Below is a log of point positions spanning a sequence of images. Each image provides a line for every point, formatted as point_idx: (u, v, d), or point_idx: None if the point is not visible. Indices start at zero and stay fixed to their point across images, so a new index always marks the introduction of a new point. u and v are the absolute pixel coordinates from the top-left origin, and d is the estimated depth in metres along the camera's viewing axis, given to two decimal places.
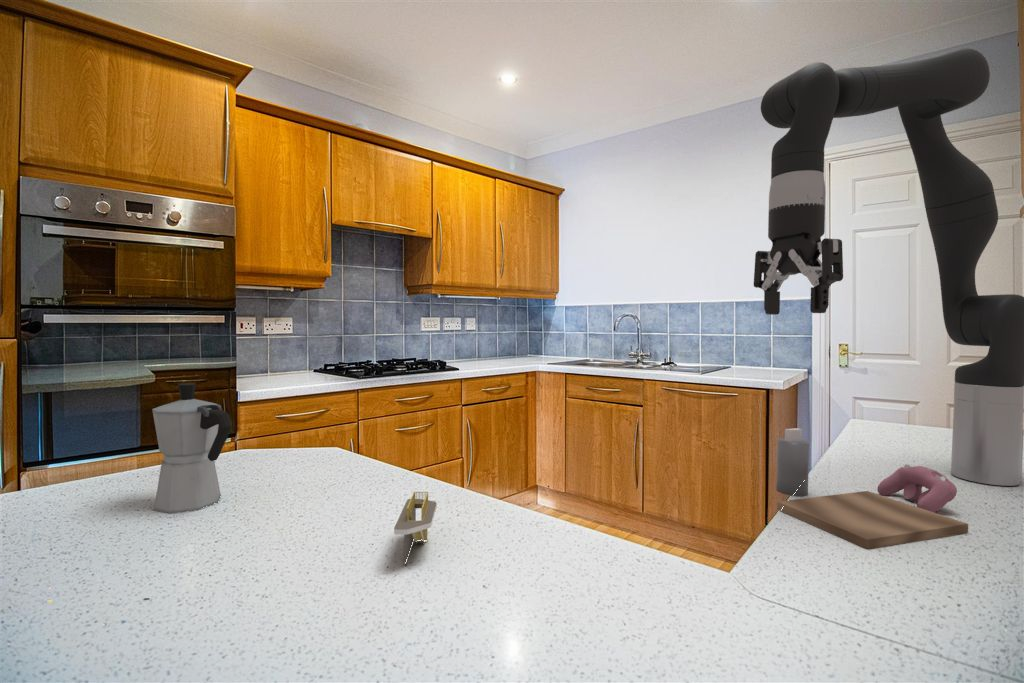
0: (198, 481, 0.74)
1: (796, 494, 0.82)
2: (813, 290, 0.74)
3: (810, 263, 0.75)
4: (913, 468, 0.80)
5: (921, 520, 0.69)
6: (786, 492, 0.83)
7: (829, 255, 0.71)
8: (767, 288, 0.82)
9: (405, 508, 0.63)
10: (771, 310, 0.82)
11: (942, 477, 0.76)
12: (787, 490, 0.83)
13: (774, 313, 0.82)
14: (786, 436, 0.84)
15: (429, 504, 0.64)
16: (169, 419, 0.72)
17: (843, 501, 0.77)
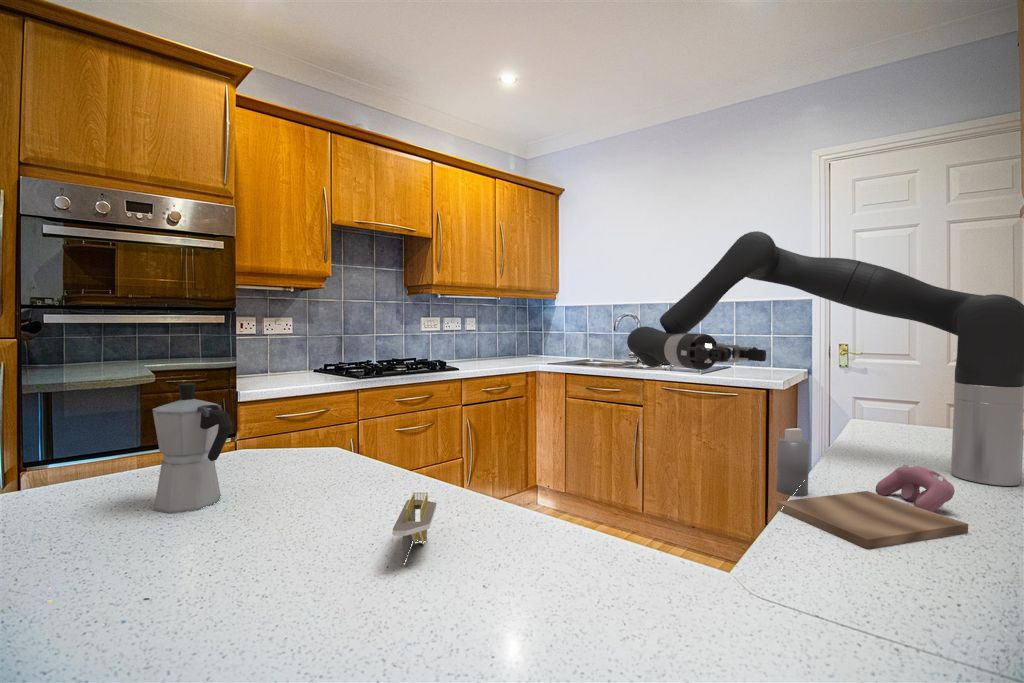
0: (198, 481, 0.74)
1: (796, 494, 0.82)
2: (714, 360, 0.96)
3: None
4: (911, 468, 0.80)
5: (921, 520, 0.69)
6: (786, 492, 0.83)
7: (687, 359, 1.00)
8: (747, 359, 1.00)
9: (404, 509, 0.62)
10: (760, 358, 0.96)
11: (940, 477, 0.76)
12: (787, 490, 0.83)
13: (762, 355, 0.96)
14: (786, 436, 0.84)
15: (429, 505, 0.64)
16: (169, 419, 0.72)
17: (843, 501, 0.77)
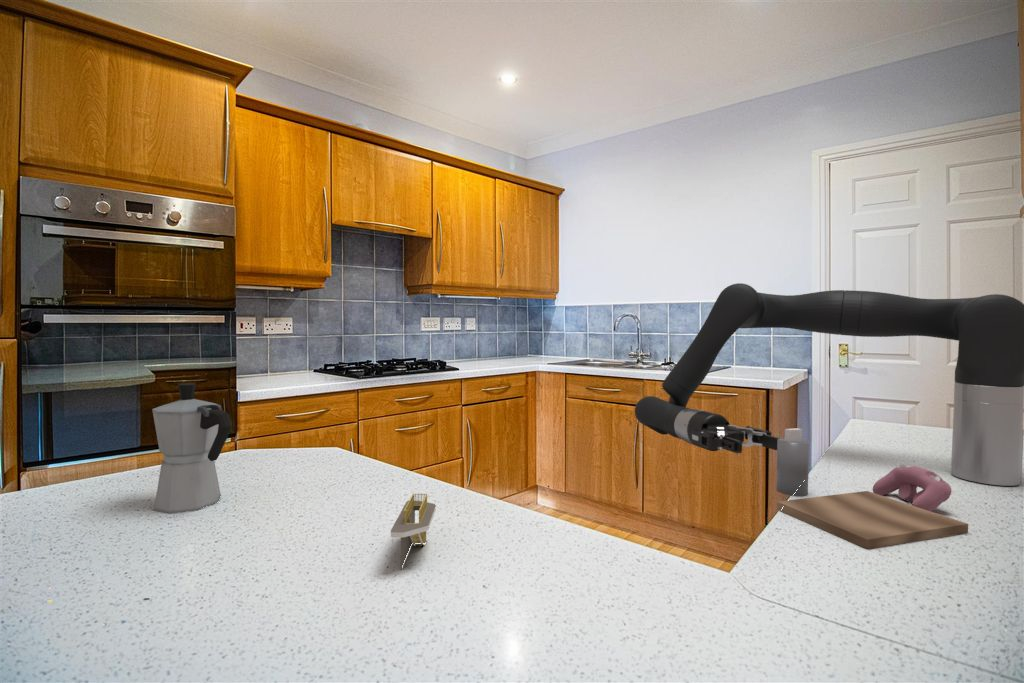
0: (198, 481, 0.74)
1: (796, 494, 0.82)
2: (727, 449, 0.93)
3: None
4: (908, 468, 0.80)
5: (921, 520, 0.69)
6: (786, 492, 0.83)
7: (698, 444, 0.97)
8: (761, 445, 0.97)
9: (403, 510, 0.62)
10: (775, 446, 0.93)
11: (937, 477, 0.76)
12: (787, 490, 0.83)
13: None
14: (786, 436, 0.84)
15: (428, 506, 0.63)
16: (169, 419, 0.72)
17: (843, 501, 0.77)
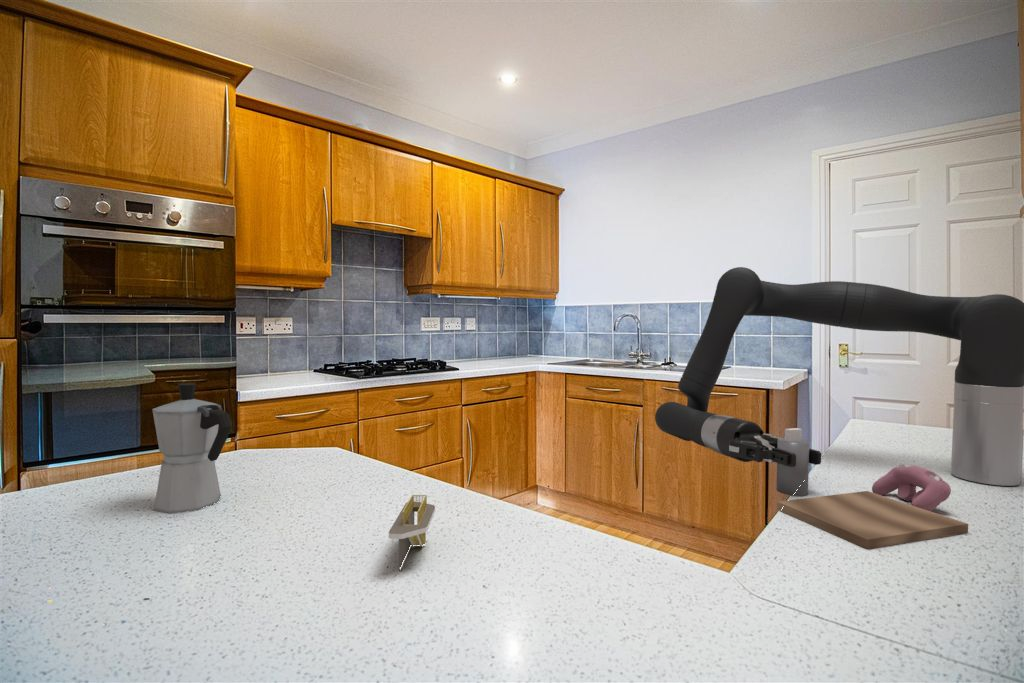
0: (198, 481, 0.74)
1: (796, 494, 0.82)
2: (777, 462, 0.84)
3: None
4: (908, 468, 0.80)
5: (921, 520, 0.69)
6: (786, 492, 0.83)
7: (740, 457, 0.87)
8: None
9: (403, 511, 0.61)
10: (814, 460, 0.83)
11: (936, 477, 0.76)
12: (787, 490, 0.83)
13: (817, 457, 0.83)
14: (786, 436, 0.84)
15: (427, 508, 0.63)
16: (169, 419, 0.72)
17: (843, 501, 0.77)
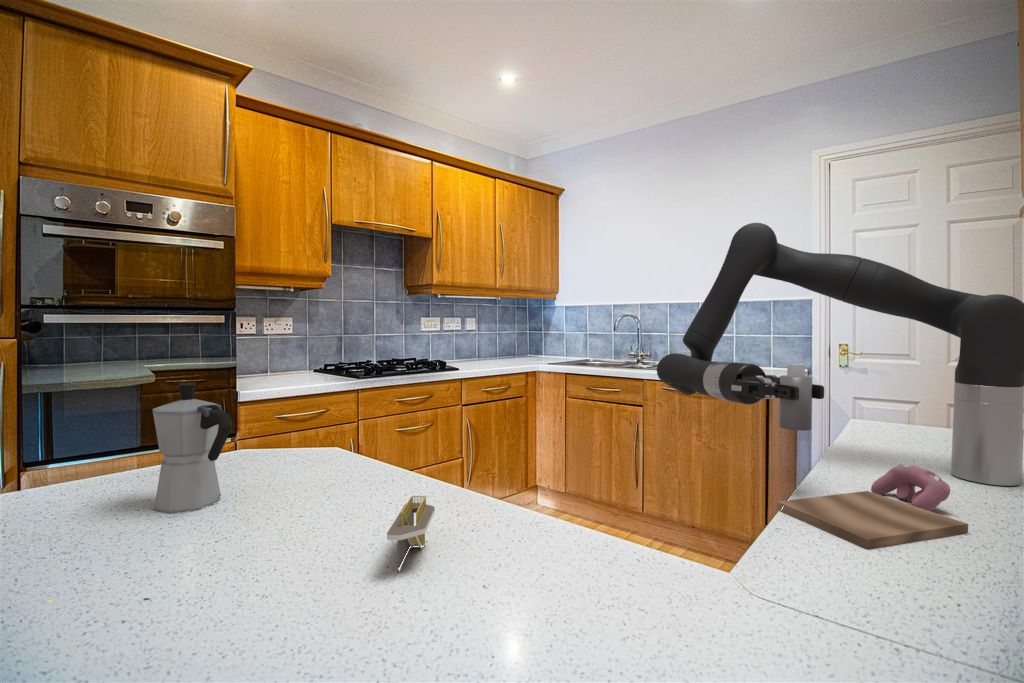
0: (198, 481, 0.74)
1: (799, 428, 0.82)
2: (780, 397, 0.84)
3: None
4: (907, 468, 0.80)
5: (921, 520, 0.69)
6: (789, 427, 0.83)
7: (743, 395, 0.87)
8: None
9: None
10: (817, 395, 0.83)
11: (935, 477, 0.76)
12: (791, 425, 0.83)
13: (820, 391, 0.82)
14: (789, 371, 0.84)
15: (427, 509, 0.62)
16: (169, 419, 0.72)
17: (843, 501, 0.77)
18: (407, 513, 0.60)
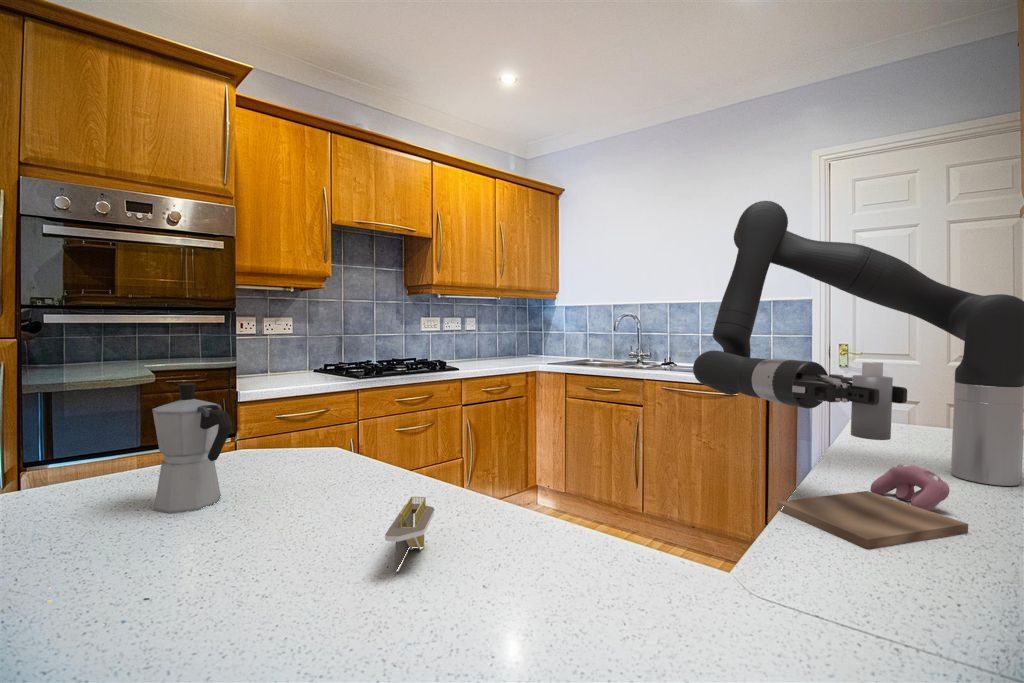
0: (198, 481, 0.74)
1: (878, 438, 0.70)
2: (853, 401, 0.71)
3: None
4: (906, 468, 0.80)
5: (921, 520, 0.69)
6: (865, 436, 0.70)
7: (807, 398, 0.75)
8: None
9: None
10: (898, 399, 0.70)
11: (935, 476, 0.77)
12: (867, 433, 0.70)
13: (902, 394, 0.70)
14: (864, 370, 0.71)
15: (426, 510, 0.62)
16: (169, 419, 0.72)
17: (843, 501, 0.77)
18: (406, 514, 0.60)
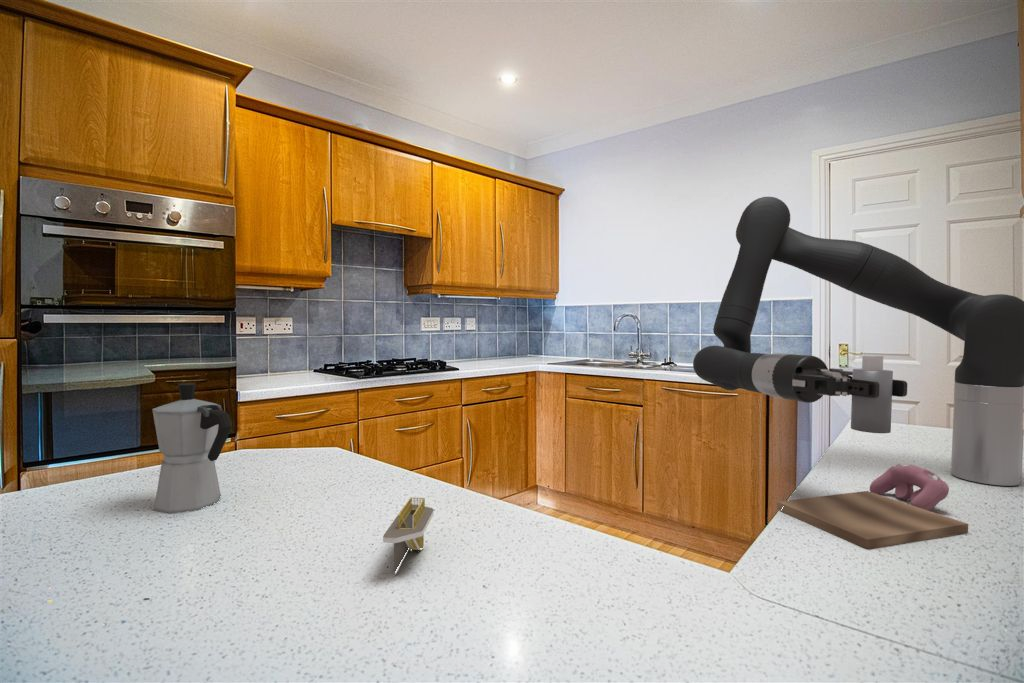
0: (198, 481, 0.74)
1: (878, 431, 0.70)
2: (853, 394, 0.71)
3: None
4: (905, 467, 0.80)
5: (921, 520, 0.69)
6: (865, 429, 0.70)
7: (807, 391, 0.75)
8: None
9: None
10: (898, 392, 0.70)
11: (934, 476, 0.77)
12: (867, 427, 0.70)
13: (902, 388, 0.70)
14: (864, 364, 0.71)
15: (425, 511, 0.62)
16: (169, 419, 0.72)
17: (843, 501, 0.77)
18: (405, 515, 0.59)
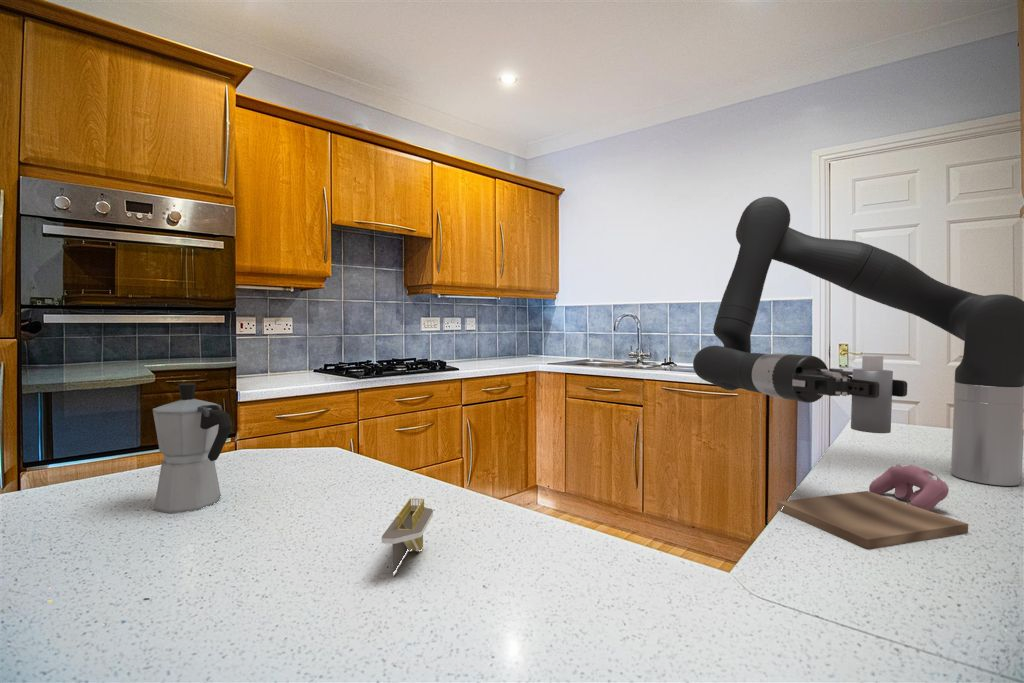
0: (198, 481, 0.74)
1: (878, 431, 0.70)
2: (853, 394, 0.71)
3: None
4: (905, 468, 0.80)
5: (921, 520, 0.69)
6: (865, 429, 0.70)
7: (807, 391, 0.75)
8: None
9: None
10: (898, 392, 0.70)
11: (934, 476, 0.77)
12: (867, 427, 0.70)
13: (902, 388, 0.70)
14: (864, 364, 0.71)
15: (425, 512, 0.61)
16: (169, 419, 0.72)
17: (843, 501, 0.77)
18: (404, 516, 0.59)
